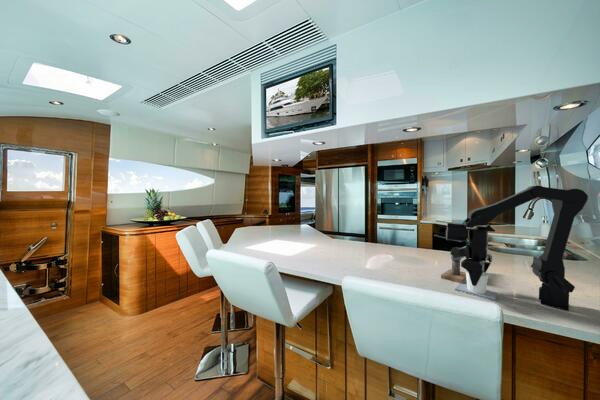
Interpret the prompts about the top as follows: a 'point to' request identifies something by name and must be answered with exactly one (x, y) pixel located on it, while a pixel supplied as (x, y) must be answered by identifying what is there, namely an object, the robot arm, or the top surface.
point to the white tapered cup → (480, 285)
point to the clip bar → (457, 257)
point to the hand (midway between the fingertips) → (476, 282)
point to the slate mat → (487, 295)
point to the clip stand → (455, 273)
